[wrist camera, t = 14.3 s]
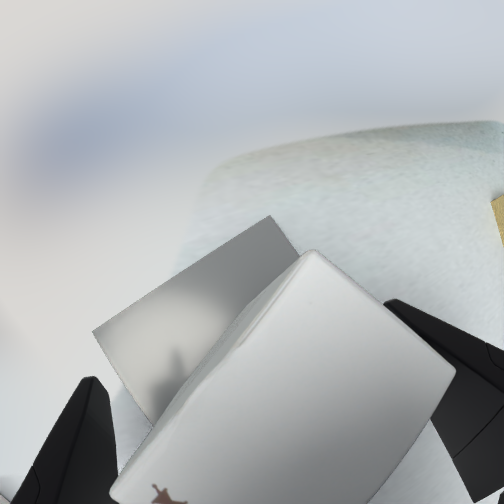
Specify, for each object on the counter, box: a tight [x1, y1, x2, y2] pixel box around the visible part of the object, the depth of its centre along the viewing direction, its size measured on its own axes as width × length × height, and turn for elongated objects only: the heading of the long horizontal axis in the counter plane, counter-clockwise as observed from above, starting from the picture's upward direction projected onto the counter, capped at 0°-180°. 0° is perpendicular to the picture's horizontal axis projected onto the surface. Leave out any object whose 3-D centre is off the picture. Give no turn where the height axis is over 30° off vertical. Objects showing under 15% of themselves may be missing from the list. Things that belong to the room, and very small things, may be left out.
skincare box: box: [109, 250, 456, 504], centre depth 10 cm, size 6×4×12 cm
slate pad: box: [92, 215, 300, 426], centre depth 16 cm, size 12×12×1 cm
